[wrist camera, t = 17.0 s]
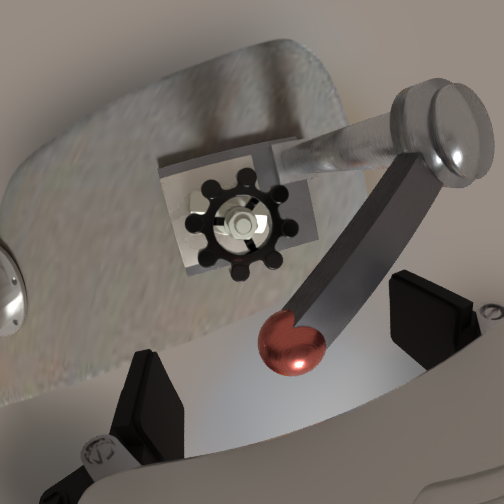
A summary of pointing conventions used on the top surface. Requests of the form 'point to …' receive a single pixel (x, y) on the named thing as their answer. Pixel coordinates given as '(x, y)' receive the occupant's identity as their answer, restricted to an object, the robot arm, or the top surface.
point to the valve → (239, 222)
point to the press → (324, 167)
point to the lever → (363, 242)
